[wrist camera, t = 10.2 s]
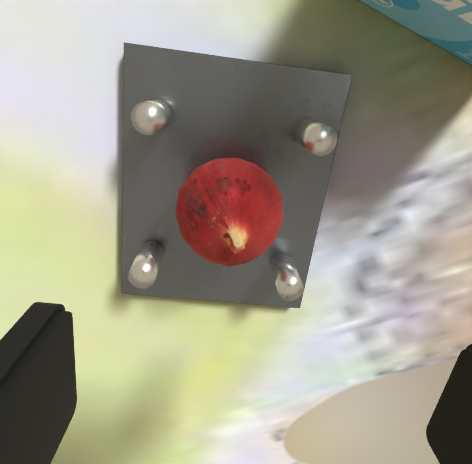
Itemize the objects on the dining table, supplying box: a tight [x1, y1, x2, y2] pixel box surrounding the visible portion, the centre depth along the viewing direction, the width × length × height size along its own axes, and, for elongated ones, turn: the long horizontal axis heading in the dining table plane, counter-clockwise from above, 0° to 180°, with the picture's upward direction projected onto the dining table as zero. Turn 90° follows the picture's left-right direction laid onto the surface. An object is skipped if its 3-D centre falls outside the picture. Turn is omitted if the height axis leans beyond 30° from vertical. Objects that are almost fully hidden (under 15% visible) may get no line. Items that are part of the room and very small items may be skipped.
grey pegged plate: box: [121, 43, 352, 308], centre depth 22 cm, size 13×16×5 cm
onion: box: [175, 157, 284, 267], centre depth 20 cm, size 6×6×8 cm
